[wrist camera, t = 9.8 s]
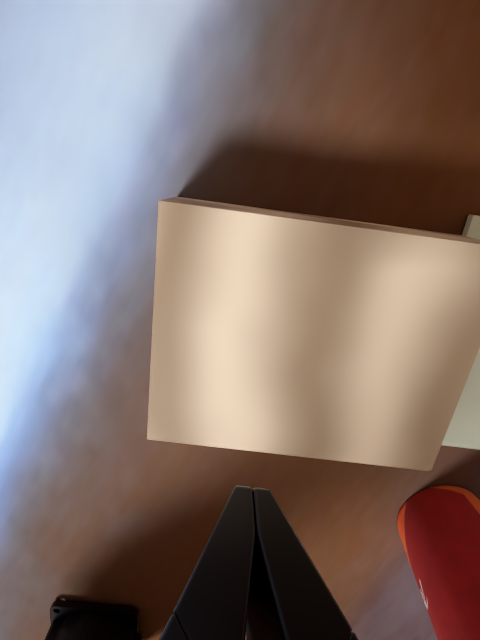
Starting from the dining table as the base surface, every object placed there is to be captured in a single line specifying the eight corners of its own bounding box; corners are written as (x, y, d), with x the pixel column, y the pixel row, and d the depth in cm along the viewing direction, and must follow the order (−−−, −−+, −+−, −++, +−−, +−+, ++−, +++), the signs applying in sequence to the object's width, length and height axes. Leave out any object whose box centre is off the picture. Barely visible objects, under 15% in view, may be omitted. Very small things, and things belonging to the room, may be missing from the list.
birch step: (163, 394, 21) (146, 439, 18) (176, 196, 18) (158, 200, 14) (399, 421, 22) (431, 471, 18) (461, 235, 18) (518, 249, 14)
